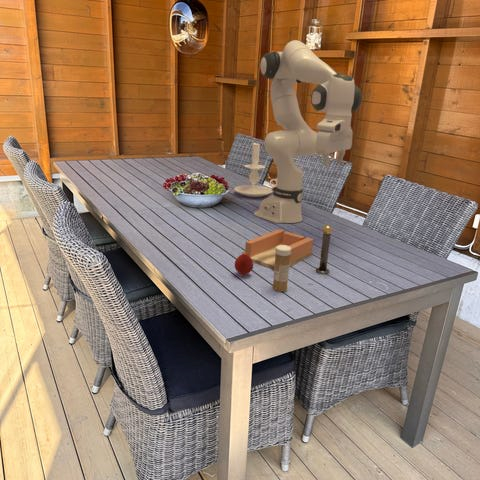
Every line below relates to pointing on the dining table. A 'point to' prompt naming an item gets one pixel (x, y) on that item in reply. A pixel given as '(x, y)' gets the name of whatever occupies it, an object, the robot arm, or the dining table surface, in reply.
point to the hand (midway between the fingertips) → (332, 164)
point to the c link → (275, 238)
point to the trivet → (272, 258)
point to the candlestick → (255, 177)
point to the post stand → (324, 250)
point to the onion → (243, 264)
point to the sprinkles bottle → (281, 267)
